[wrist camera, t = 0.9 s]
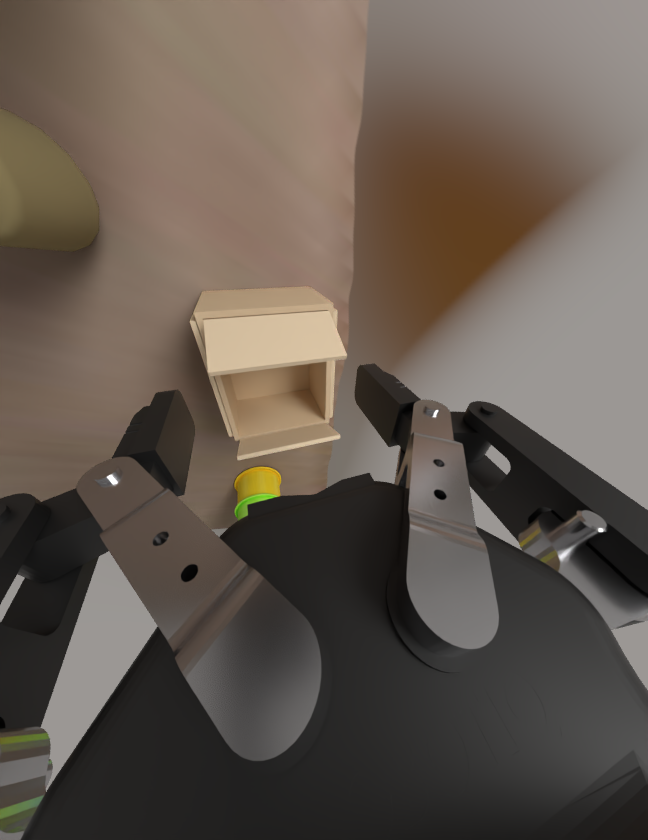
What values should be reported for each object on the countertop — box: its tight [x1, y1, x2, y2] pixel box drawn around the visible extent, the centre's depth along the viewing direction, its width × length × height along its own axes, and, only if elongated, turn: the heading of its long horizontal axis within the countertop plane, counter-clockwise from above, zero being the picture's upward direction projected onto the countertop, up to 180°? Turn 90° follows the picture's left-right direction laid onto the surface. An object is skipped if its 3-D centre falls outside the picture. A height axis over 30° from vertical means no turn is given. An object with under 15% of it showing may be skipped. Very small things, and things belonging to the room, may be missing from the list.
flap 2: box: [237, 423, 340, 460], centre depth 30 cm, size 1×12×6 cm, turn 88°
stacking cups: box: [234, 467, 281, 521], centre depth 40 cm, size 10×10×35 cm
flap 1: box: [203, 311, 347, 376], centre depth 21 cm, size 1×12×6 cm, turn 89°
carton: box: [190, 286, 338, 441], centre depth 32 cm, size 17×15×10 cm
